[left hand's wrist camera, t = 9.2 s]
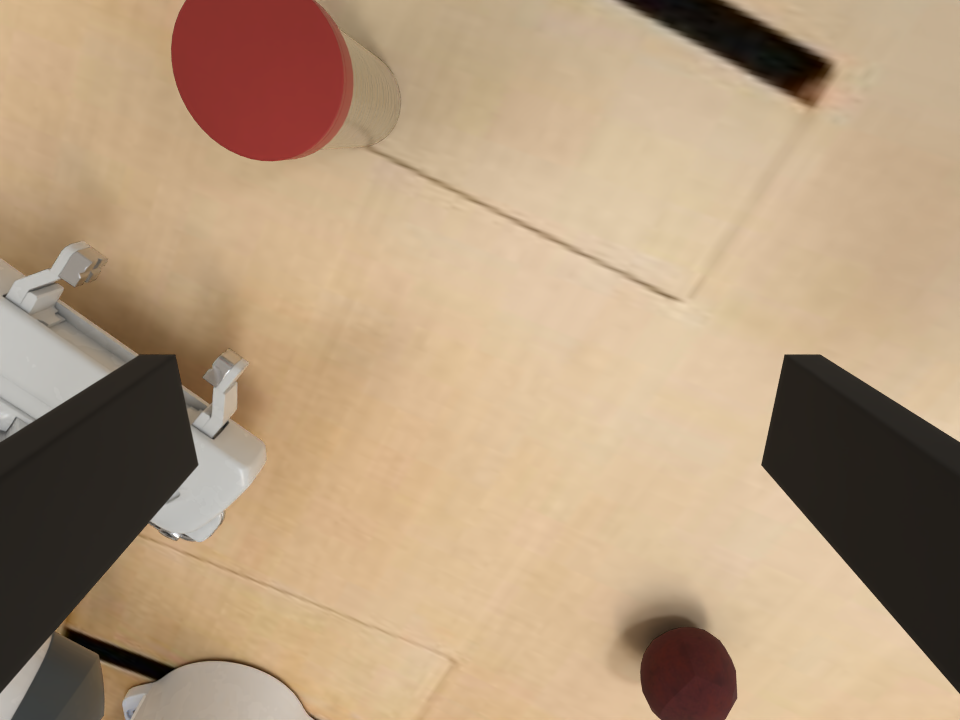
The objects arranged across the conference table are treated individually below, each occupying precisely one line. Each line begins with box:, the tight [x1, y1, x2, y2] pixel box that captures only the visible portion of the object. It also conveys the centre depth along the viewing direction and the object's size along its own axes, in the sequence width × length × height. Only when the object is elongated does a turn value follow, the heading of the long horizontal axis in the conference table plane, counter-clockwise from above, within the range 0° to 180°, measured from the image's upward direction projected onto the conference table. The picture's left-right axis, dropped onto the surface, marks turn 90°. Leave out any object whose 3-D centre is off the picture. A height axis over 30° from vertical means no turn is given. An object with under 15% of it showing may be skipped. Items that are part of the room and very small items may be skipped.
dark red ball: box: [640, 627, 737, 720], centre depth 45 cm, size 7×8×7 cm
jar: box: [319, 29, 401, 150], centre depth 26 cm, size 5×5×15 cm
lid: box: [171, 0, 354, 161], centre depth 20 cm, size 6×6×2 cm
